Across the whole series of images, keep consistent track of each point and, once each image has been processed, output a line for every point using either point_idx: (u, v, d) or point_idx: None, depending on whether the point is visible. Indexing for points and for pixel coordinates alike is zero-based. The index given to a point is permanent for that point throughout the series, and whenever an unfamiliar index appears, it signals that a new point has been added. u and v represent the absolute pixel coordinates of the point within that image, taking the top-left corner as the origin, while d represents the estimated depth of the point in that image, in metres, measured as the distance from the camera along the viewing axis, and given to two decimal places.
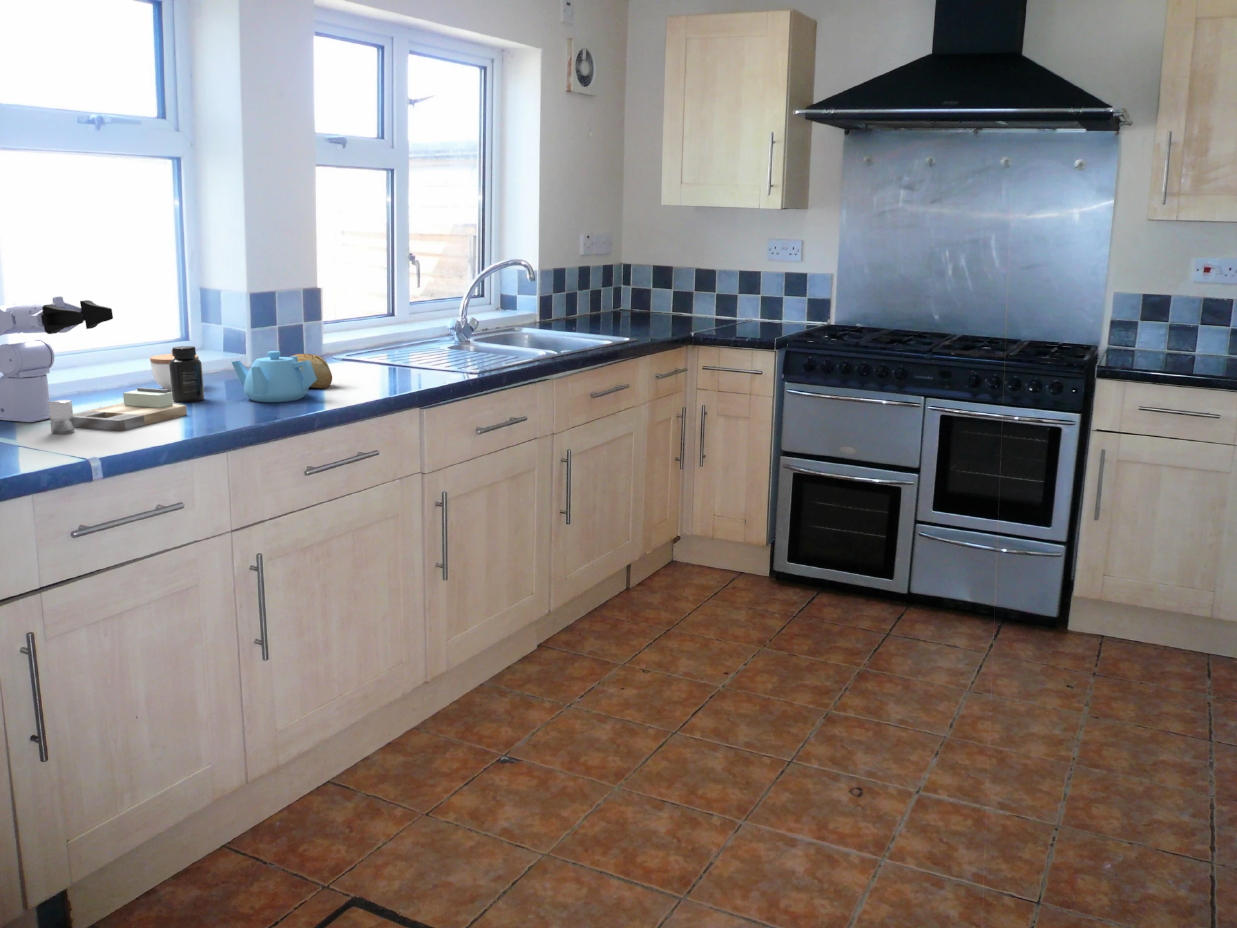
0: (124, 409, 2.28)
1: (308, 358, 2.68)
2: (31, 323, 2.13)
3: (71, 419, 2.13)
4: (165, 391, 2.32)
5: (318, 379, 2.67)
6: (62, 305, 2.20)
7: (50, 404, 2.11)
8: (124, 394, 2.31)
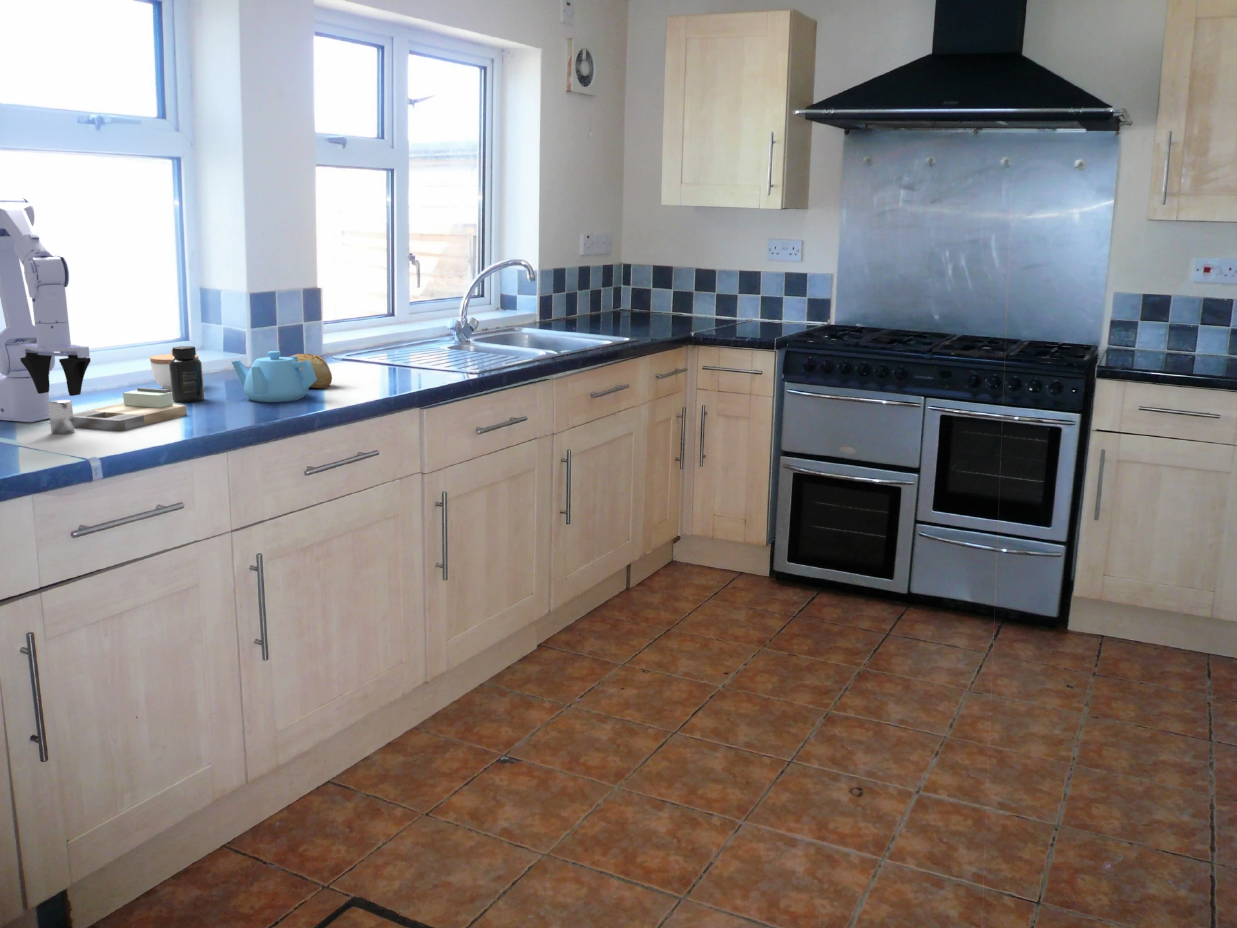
0: (124, 409, 2.28)
1: (308, 358, 2.68)
2: None
3: (71, 419, 2.13)
4: (165, 391, 2.32)
5: (317, 379, 2.67)
6: None
7: (50, 404, 2.11)
8: (124, 394, 2.31)
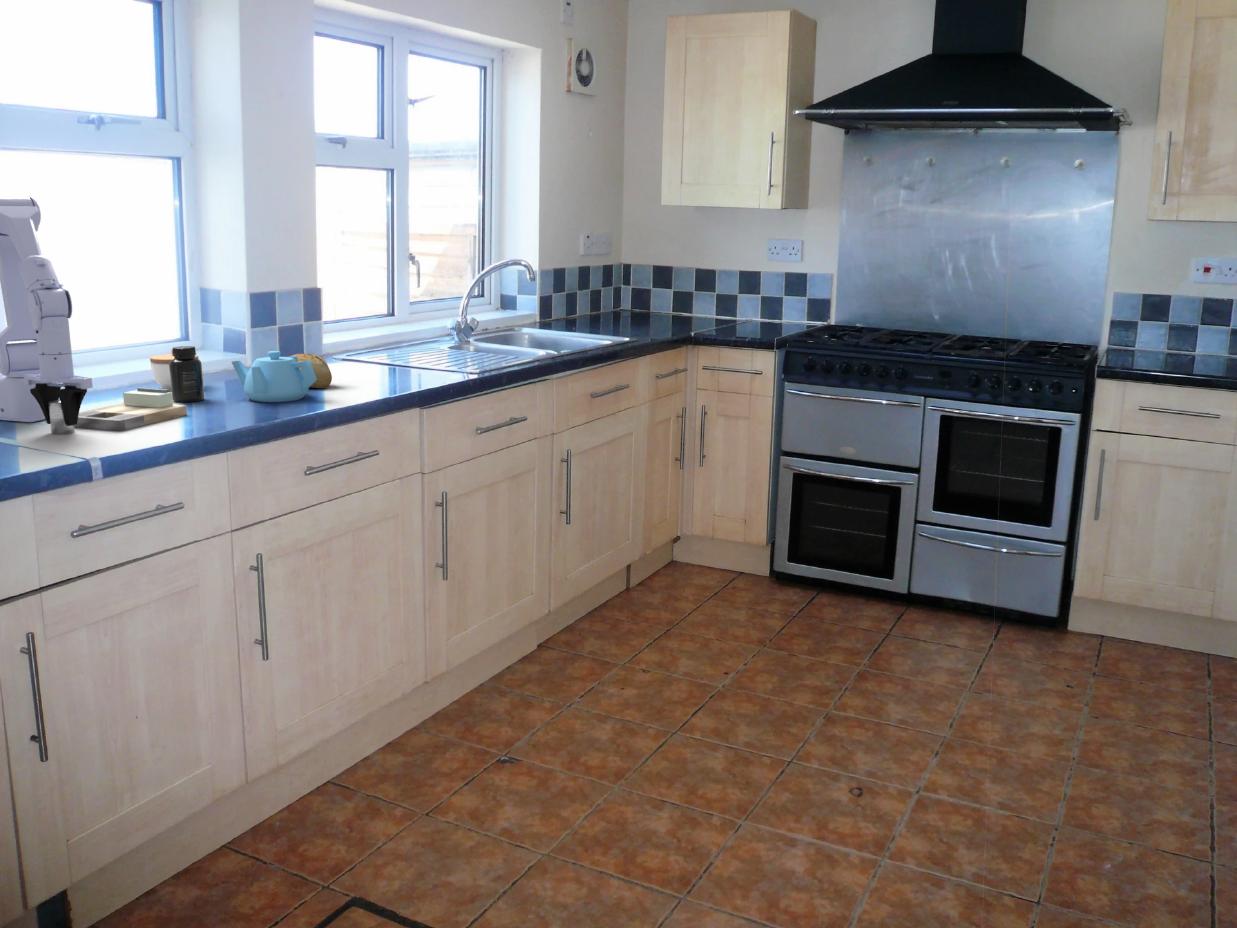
0: (124, 409, 2.28)
1: (308, 358, 2.68)
2: None
3: None
4: (165, 391, 2.32)
5: (317, 379, 2.67)
6: None
7: (50, 404, 2.11)
8: (124, 394, 2.31)
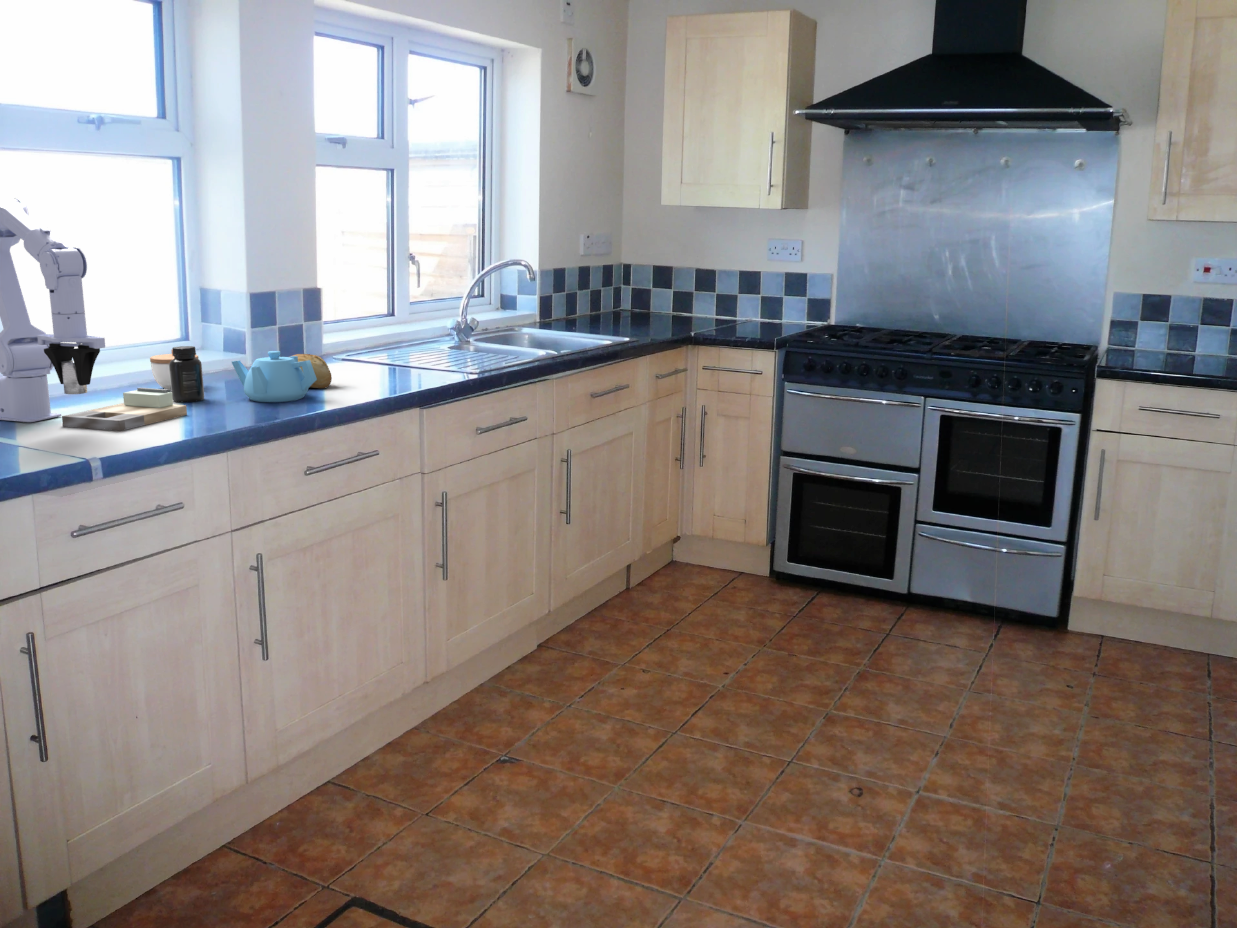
0: (124, 409, 2.28)
1: (307, 358, 2.68)
2: None
3: None
4: (165, 391, 2.32)
5: (317, 380, 2.67)
6: None
7: (63, 364, 2.12)
8: (124, 394, 2.31)
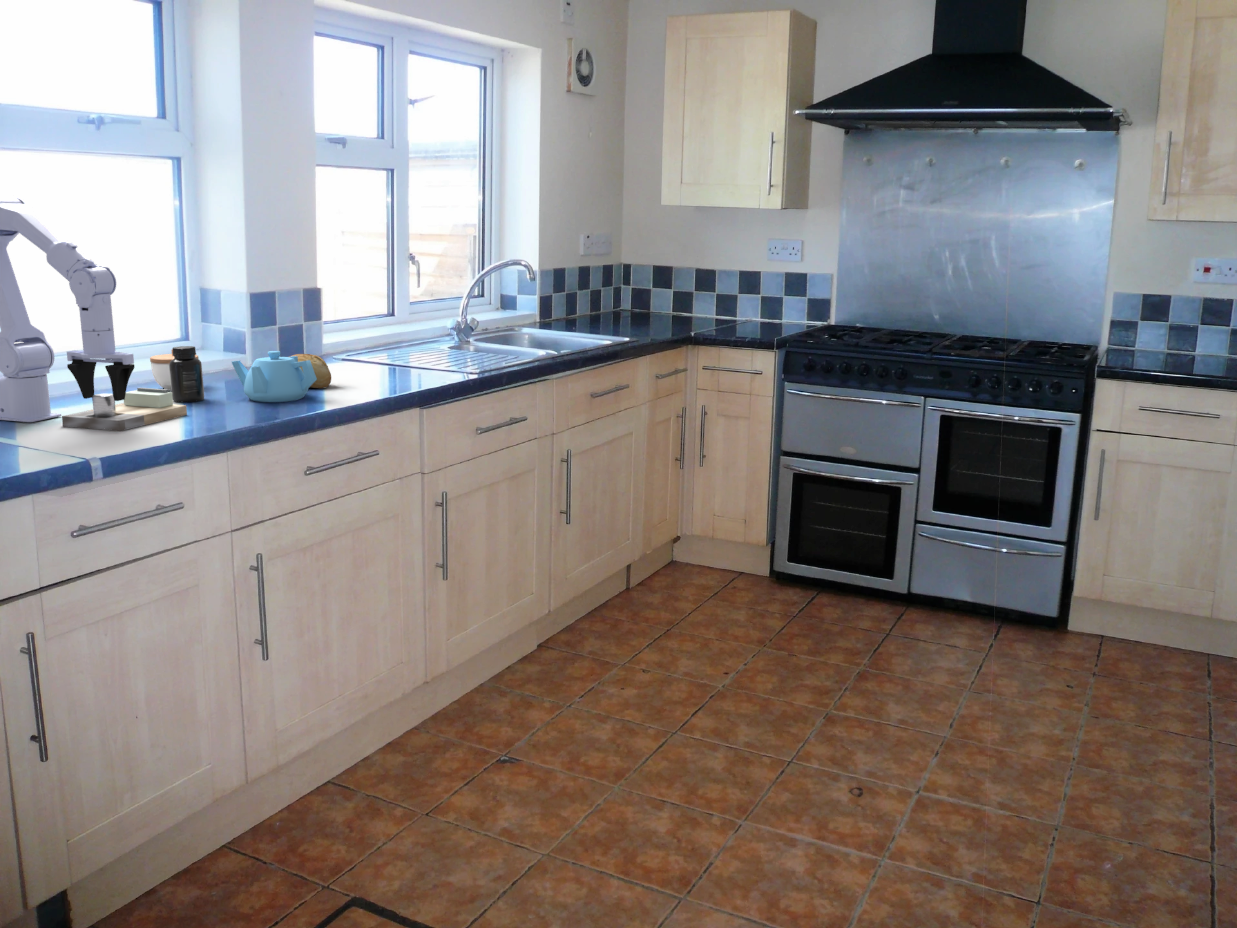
0: (124, 409, 2.28)
1: (307, 358, 2.68)
2: None
3: (113, 412, 2.21)
4: (165, 391, 2.32)
5: (317, 379, 2.67)
6: None
7: (94, 397, 2.19)
8: None
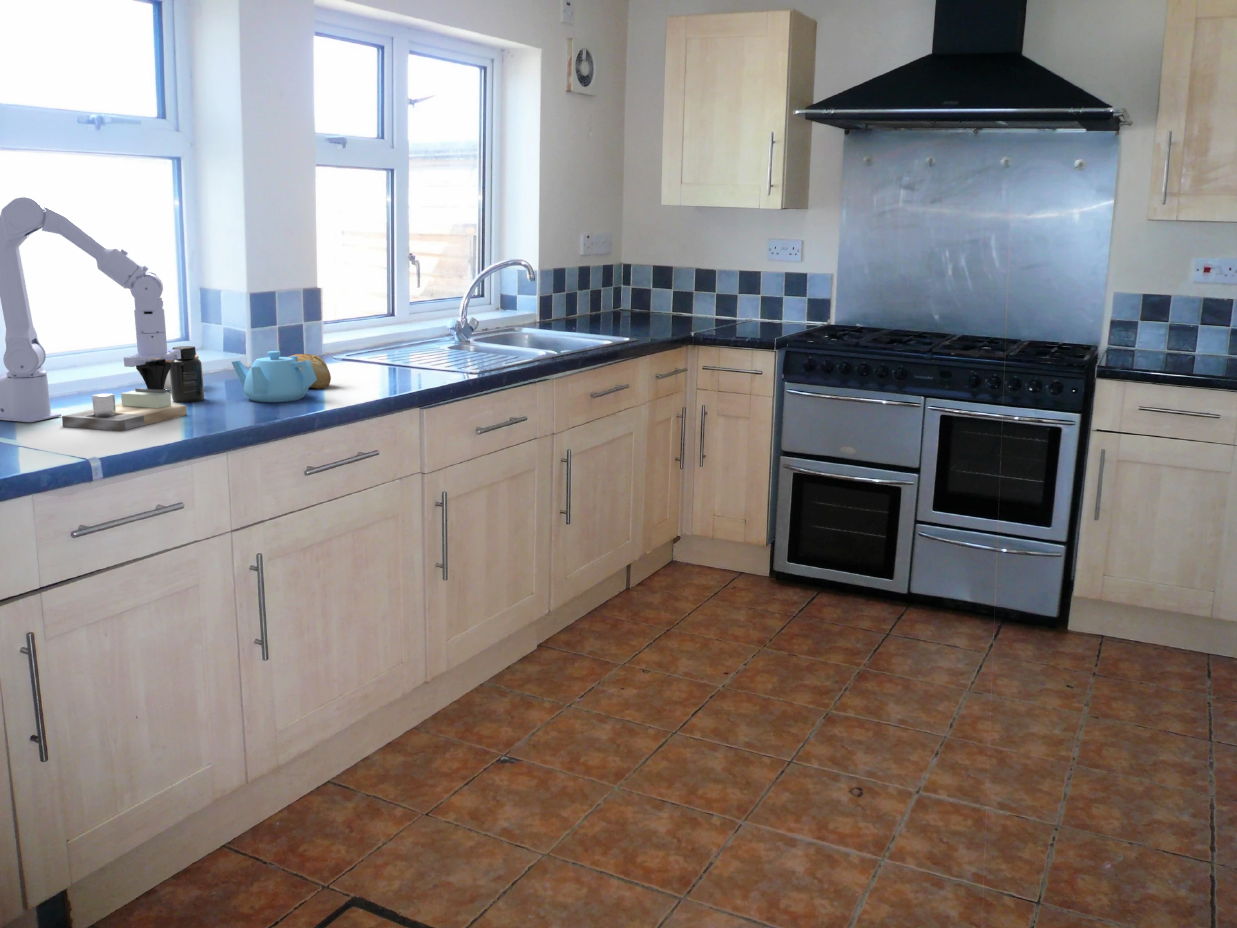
0: (124, 409, 2.28)
1: (307, 358, 2.68)
2: (125, 358, 2.26)
3: (113, 412, 2.21)
4: (163, 391, 2.31)
5: (316, 380, 2.67)
6: None
7: (94, 397, 2.19)
8: (122, 394, 2.31)
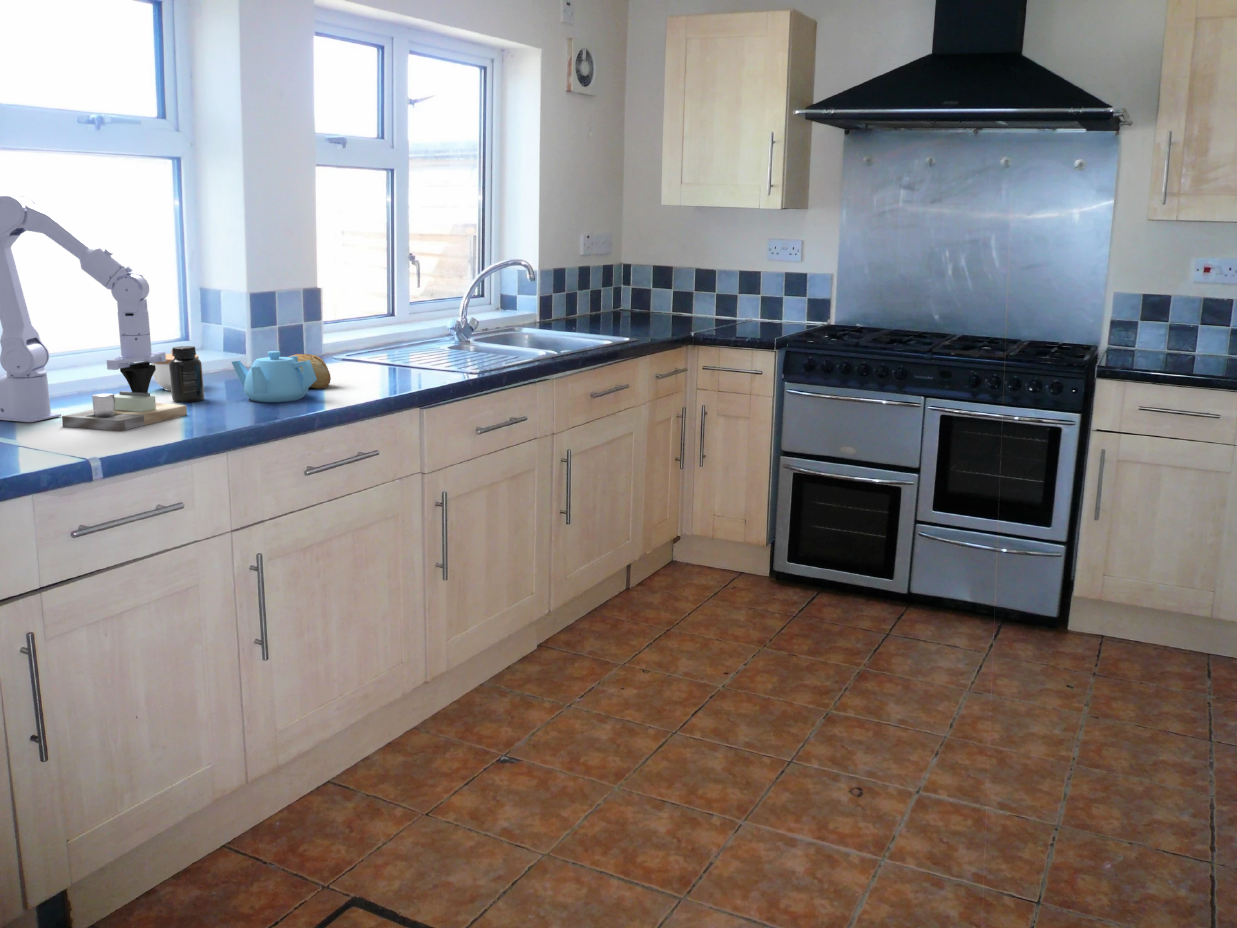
0: None
1: (306, 358, 2.68)
2: (108, 361, 2.22)
3: (113, 412, 2.21)
4: (148, 395, 2.27)
5: (316, 380, 2.67)
6: None
7: (94, 397, 2.19)
8: None
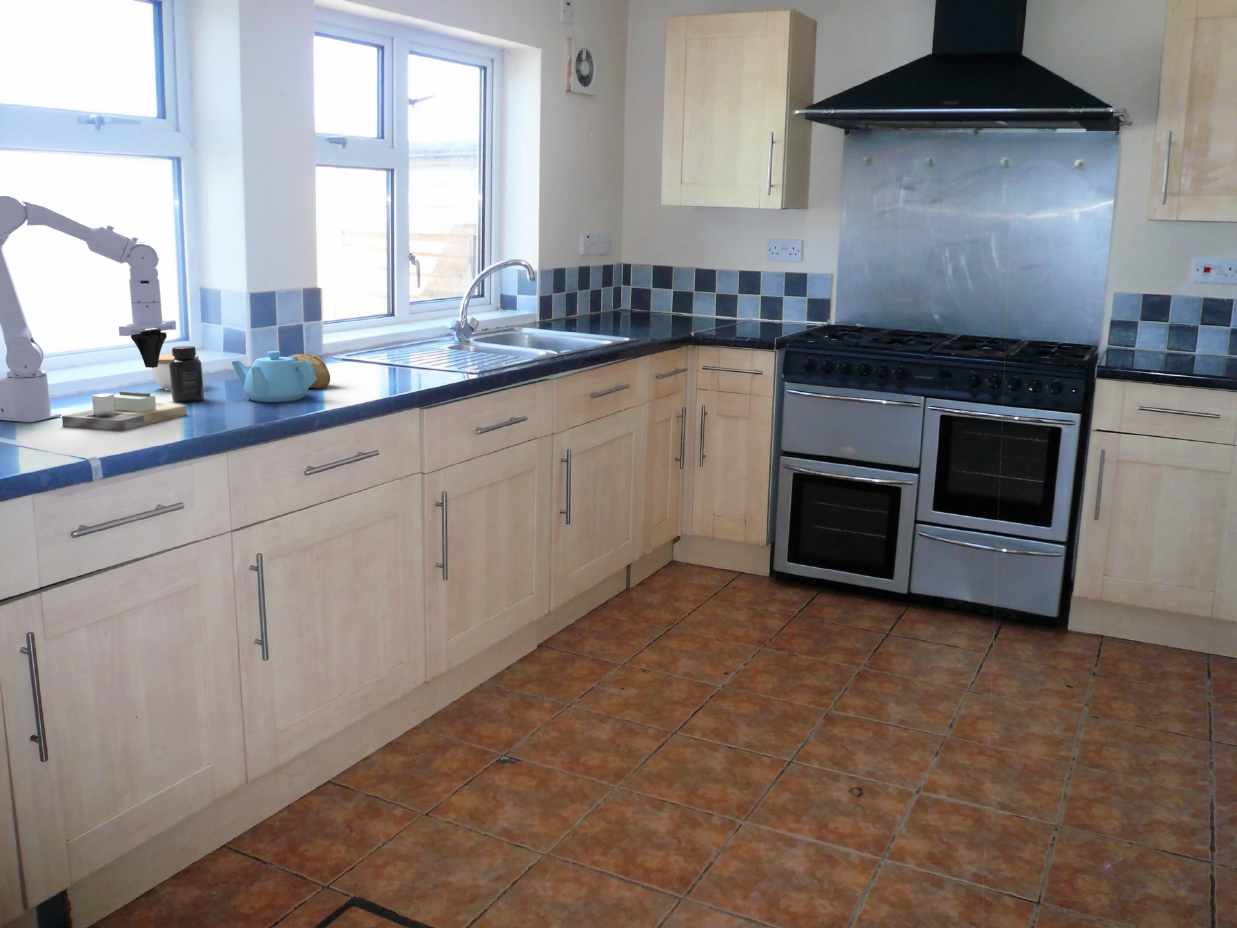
0: None
1: (306, 358, 2.68)
2: (120, 328, 2.27)
3: (113, 412, 2.21)
4: (148, 395, 2.27)
5: None
6: None
7: (94, 397, 2.19)
8: None
